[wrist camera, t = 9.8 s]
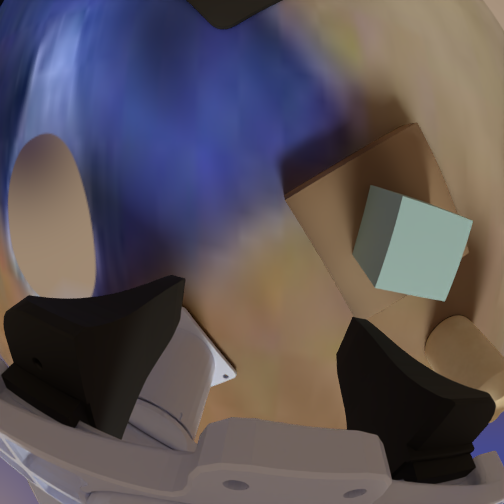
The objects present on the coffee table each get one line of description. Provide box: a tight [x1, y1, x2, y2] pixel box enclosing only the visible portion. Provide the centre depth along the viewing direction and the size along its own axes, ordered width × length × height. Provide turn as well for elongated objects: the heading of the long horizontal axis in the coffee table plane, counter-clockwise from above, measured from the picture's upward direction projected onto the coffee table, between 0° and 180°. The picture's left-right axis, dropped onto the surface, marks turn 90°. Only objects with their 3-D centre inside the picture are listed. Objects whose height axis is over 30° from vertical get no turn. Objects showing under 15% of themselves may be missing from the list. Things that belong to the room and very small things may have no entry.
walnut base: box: [284, 123, 469, 320], centre depth 18 cm, size 10×10×3 cm
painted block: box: [352, 185, 473, 301], centre depth 15 cm, size 4×4×5 cm
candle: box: [425, 315, 504, 423], centre depth 17 cm, size 6×6×10 cm
